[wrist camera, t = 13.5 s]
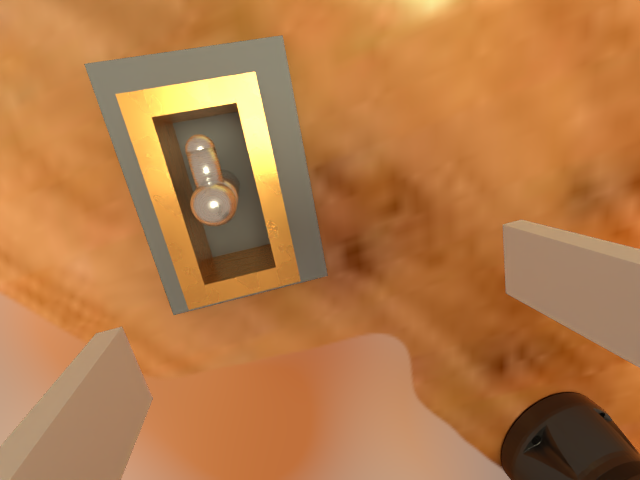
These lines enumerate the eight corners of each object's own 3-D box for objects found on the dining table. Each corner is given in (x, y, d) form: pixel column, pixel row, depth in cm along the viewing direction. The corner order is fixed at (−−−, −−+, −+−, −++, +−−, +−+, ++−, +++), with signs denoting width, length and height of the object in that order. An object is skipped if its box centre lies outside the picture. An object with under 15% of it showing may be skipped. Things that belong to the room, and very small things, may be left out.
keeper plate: (325, 271, 32) (327, 275, 31) (176, 309, 30) (173, 315, 29) (281, 39, 26) (282, 35, 25) (90, 67, 24) (84, 64, 23)
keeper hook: (243, 197, 28) (241, 225, 18) (212, 203, 28) (194, 235, 18) (227, 134, 26) (216, 128, 17) (194, 140, 26) (164, 138, 16)
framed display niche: (290, 255, 30) (300, 281, 25) (199, 277, 29) (188, 310, 23) (253, 87, 26) (255, 71, 20) (145, 105, 25) (115, 94, 19)
